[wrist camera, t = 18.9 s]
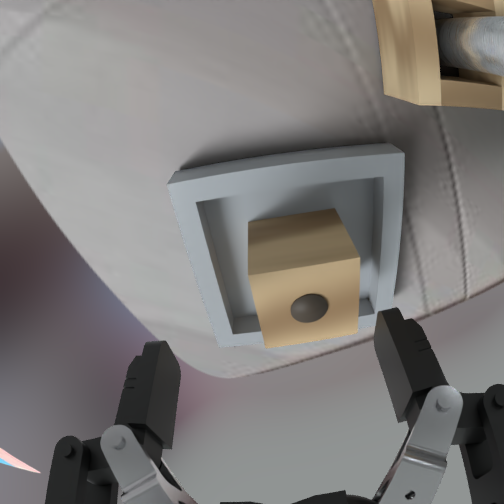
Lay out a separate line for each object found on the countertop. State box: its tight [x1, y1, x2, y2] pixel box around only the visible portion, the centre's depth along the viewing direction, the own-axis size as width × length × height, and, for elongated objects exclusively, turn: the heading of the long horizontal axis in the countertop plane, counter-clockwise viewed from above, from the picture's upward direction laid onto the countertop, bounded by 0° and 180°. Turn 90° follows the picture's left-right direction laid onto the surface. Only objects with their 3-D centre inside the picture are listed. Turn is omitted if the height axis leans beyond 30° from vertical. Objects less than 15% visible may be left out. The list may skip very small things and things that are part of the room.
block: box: [248, 208, 360, 348], centre depth 17 cm, size 5×5×5 cm
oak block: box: [372, 0, 504, 110], centre depth 11 cm, size 6×6×4 cm
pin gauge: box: [434, 16, 504, 77], centre depth 8 cm, size 3×3×10 cm
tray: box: [167, 143, 405, 348], centre depth 19 cm, size 12×12×2 cm
